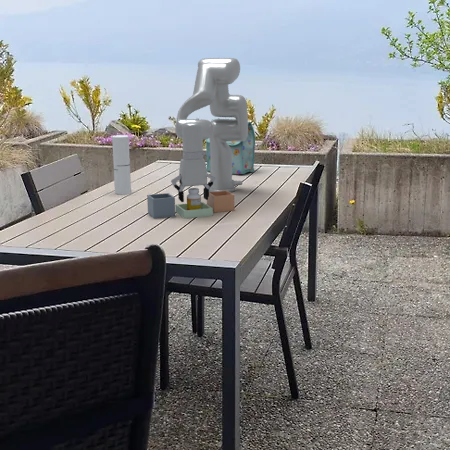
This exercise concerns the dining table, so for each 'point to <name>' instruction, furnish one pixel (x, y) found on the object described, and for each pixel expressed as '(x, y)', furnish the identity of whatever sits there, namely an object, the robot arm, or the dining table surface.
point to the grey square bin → (161, 205)
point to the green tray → (194, 211)
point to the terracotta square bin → (221, 201)
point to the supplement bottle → (193, 199)
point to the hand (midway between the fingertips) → (193, 200)
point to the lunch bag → (238, 153)
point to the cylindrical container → (121, 164)
